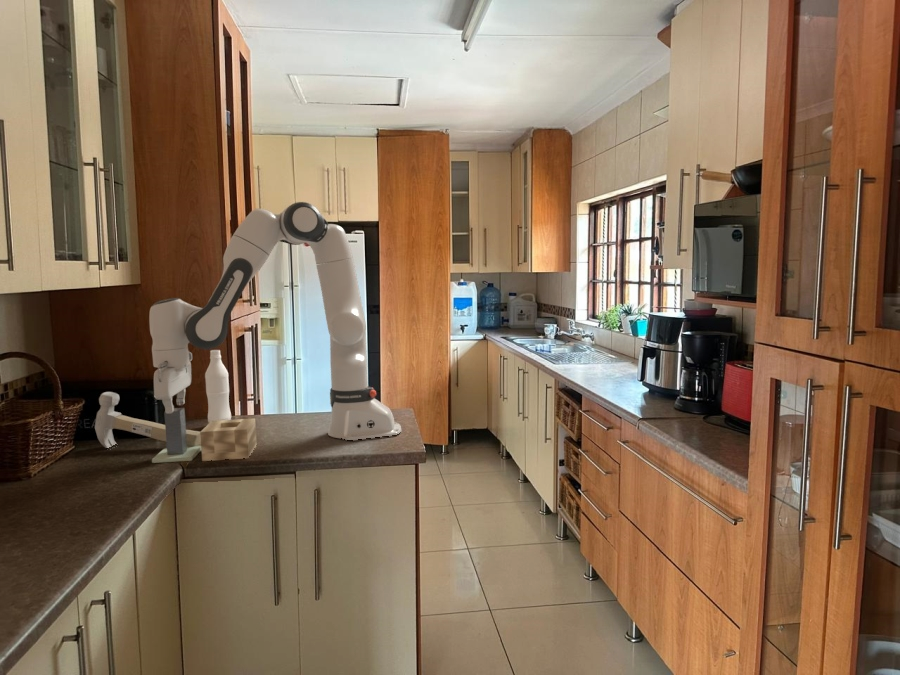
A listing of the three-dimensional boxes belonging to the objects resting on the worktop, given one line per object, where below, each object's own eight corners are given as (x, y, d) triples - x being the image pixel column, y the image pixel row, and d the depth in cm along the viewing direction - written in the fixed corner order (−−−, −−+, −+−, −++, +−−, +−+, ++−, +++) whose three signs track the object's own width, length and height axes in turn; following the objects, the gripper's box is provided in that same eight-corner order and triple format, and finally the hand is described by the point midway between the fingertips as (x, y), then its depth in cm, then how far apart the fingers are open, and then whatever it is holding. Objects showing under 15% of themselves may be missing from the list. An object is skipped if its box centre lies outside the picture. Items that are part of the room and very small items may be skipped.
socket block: (256, 445, 172) (255, 418, 171) (248, 458, 160) (246, 429, 160) (213, 447, 171) (211, 420, 170) (202, 461, 159) (200, 431, 158)
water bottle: (203, 426, 194) (198, 351, 191) (223, 422, 200) (219, 348, 197) (216, 430, 190) (211, 352, 187) (236, 425, 195) (231, 350, 192)
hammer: (206, 413, 172) (108, 390, 173) (198, 417, 168) (97, 393, 169) (198, 464, 174) (100, 441, 175) (190, 469, 170) (90, 446, 171)
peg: (187, 449, 166) (184, 407, 164) (183, 454, 162) (179, 411, 160) (172, 450, 165) (169, 408, 164) (167, 455, 161) (164, 411, 160)
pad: (201, 449, 169) (201, 446, 169) (191, 460, 159) (191, 456, 159) (164, 451, 168) (164, 448, 168) (152, 462, 158) (151, 459, 158)
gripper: (171, 364, 151) (175, 417, 152) (193, 352, 171) (197, 400, 172) (144, 365, 150) (149, 419, 152) (170, 354, 170) (175, 401, 172)
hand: (175, 408), depth 162 cm, fingers open, 8 cm apart
